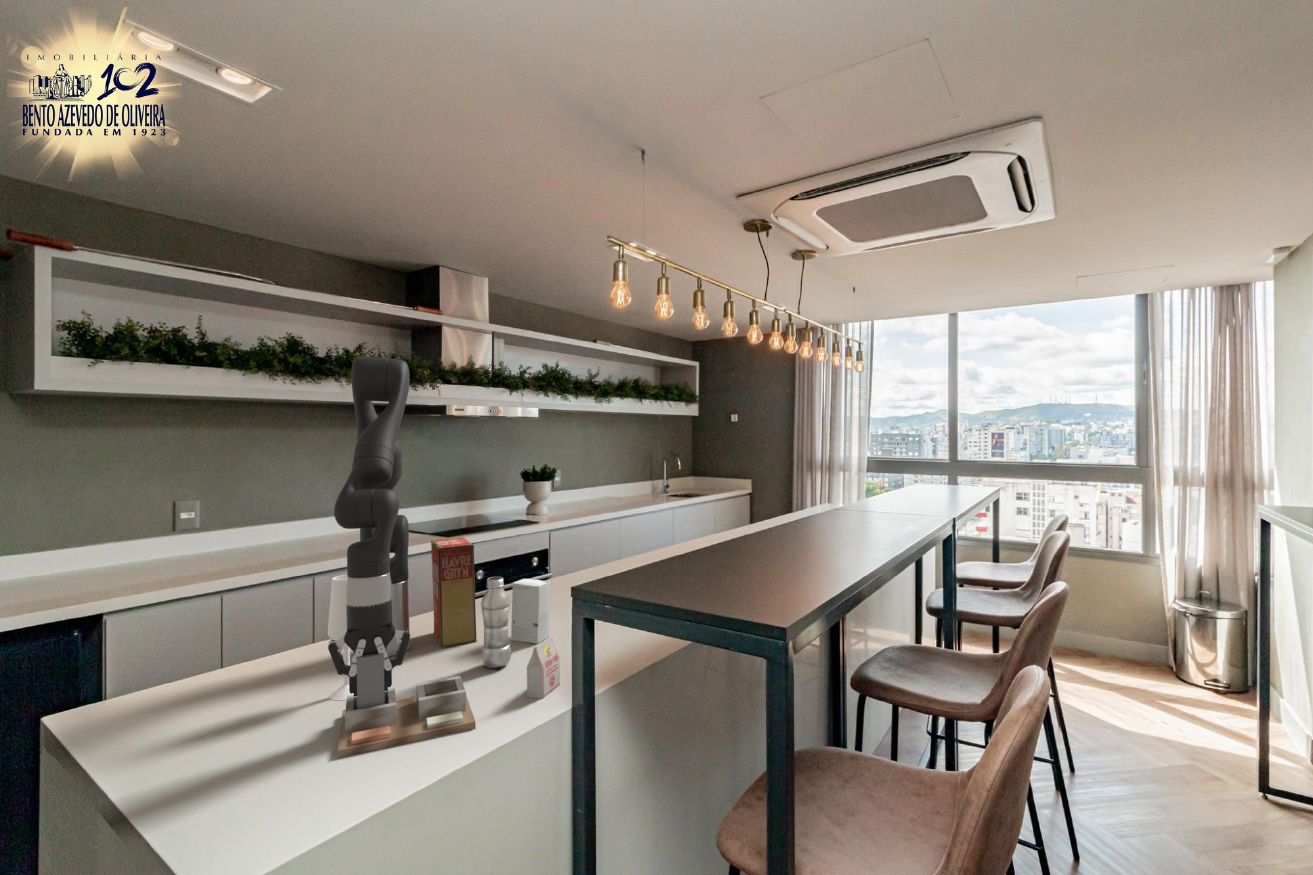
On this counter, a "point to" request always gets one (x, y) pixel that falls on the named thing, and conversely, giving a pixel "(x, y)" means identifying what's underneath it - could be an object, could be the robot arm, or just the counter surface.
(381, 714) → the socket board
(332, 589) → the champagne flute
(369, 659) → the plug
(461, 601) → the food packaging
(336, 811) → the counter surface
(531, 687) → the small milk carton
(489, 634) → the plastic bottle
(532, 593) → the skincare box
